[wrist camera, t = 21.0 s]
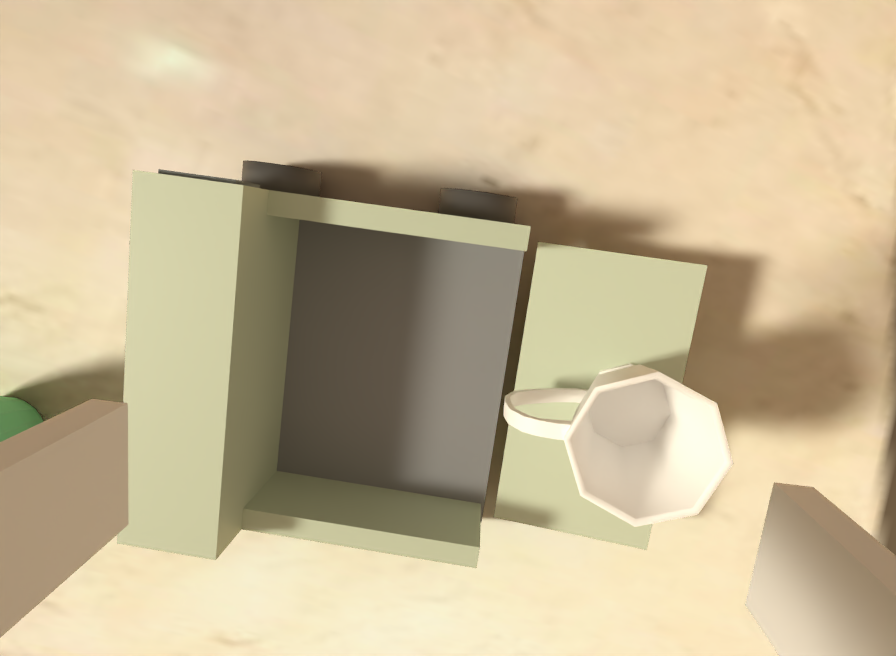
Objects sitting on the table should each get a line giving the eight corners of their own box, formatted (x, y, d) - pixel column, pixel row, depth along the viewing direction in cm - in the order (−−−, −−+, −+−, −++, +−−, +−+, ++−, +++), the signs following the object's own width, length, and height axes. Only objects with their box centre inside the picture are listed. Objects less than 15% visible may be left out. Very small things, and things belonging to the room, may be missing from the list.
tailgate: (538, 241, 32) (707, 265, 31) (538, 241, 33) (701, 264, 32) (493, 517, 35) (646, 550, 34) (495, 507, 36) (643, 539, 35)
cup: (680, 469, 33) (720, 541, 25) (503, 443, 34) (487, 503, 26) (700, 347, 32) (748, 382, 24) (516, 326, 33) (504, 352, 25)
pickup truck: (240, 163, 36) (134, 134, 25) (528, 203, 35) (546, 190, 24) (217, 478, 40) (116, 571, 29) (478, 520, 39) (474, 632, 28)
